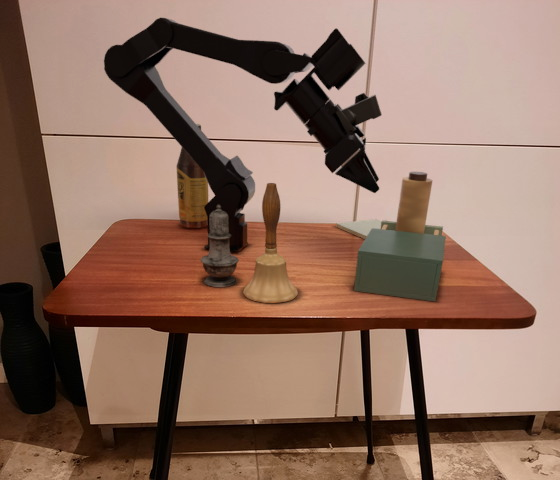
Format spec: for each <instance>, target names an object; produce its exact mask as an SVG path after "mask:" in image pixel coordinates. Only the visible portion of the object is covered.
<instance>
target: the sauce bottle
mask: <svg viewBox="0 0 560 480" xmlns="http://www.w3.org/2000/svg"><path fill="white" fill-rule="evenodd" d="M195 124H196V125H197V126H198V127H199V128H200V130H201V131H202V125H201V124H200V123H195ZM180 146H181V145H180ZM176 183H177V202H178V204H177V205H178V218H179V224H180V225H181V227H183V228H185V229H204V228H206V227H208V226H207V214H206V212H205V209H204V206H205V205H206V204H207V203H208V202H209V184H208V181H207V179H206V177H205V174H204V172H203V171H202V169H201V168H200V167H199V166H198V165H197V163H196V162H195V161H194V160H193V159H192V158H191V157H190V156H189V154H188V153H187V152H186V151H185V150H184V149H183V148H182V146H181V149H180V152H179V156H178V159H177V164H176Z"/></svg>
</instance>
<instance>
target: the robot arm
mask: <svg viewBox="0 0 560 480" xmlns="http://www.w3.org/2000/svg"><path fill="white" fill-rule="evenodd" d="M174 49H175V50H178V51H181V52H186V53H189V54H193V55H196V56H200V57H204V58H208V59H211V60H214V61H218V62H222V63H226V64H229V65H234V66H235V67H238V68H240V69H241V70H243V71H245V72H247V73H248V74H251V76H254V77H256V78H257V79H260V80H262V81H264V82H266V83H269V84H272V85H273V84H274V85H275V84H276V85H277V84H284V83H287V82H288V81H290V80H291V79H292V78H293V77H294V75H295V74H298V73H303V72H308V71H309V70H310V71H309V72H308V73H307V74H306V75H305V76H304V78H302V79H301V80H300V81H299V80H298V79H296V78H294V79H292V81H290V83H289V84H288V85H286V87H285V88H284V89H283V90H282V91H278V90H277V91H274V92H273V96H274V107H273V109H274V111H277V112H278V111H280V110H282V109H283V108H284V106H285V105H287V106H288V108H289V109H290V110H291V111H292V112H293V114H294V115H295V116H296V117H297V119H298V120H299V121H300V122H301V123H302V124H303V125H304V127H305V128H306V130H307V131H306V132H307V133H308V135H310V137H313V138H314V139H315V140H316V141H317V143H318V144H319V145H320V146H321V148H322V149H323V153H324V154H325V155H324V165H325V166H326V168H327V169H328V170H329V171H330V173H331V174H333V173H334V175H336V176H339V177H341V178H342V179H345V180H347V181H349V182H351V183H353V184H355V185H357V186H359V187H361V188H363V189H365V190H367V191H369V192H371V193H373V194H376V193H377V192H379V190H380V185H379V184H378V182H379V180H380V178H379V175H378V174H377V172H376V170H375V168H374V166H373V164H372V162H371V160H370V158H369V156H368V154H367V152H366V142H367V137H366V136H365V134H366V133H365V132H364V131H363V130H362V128H361V127H360V126H359V125H360V124H363V123H365V122H367V121H370V120H375V119H377V118H379V117H381V116H382V111H381V108H380V104H379V101H378V98H377V95H376V94H373V95H370V96H368V95H367V94H366V93H365V92H361V93H360V94H358V95H356V96H355V97H354V103H352V104H351V105H349V106H347V107H344V108H342V107H341V105H340V104H339V103H334V102H333V100H332V99H331V98H330V97H329V96H328V94H327V93H326V91H325V90H324V89H323V87H321V85H320V83H318V81H316V79H315V78H314V77H313V76H314V75H315V76H316V77H317V78H318V80H319V81H320V82H321V83H322V85H323V86H324V87H325V88H326V89H327V90H328V91H331V90H332V88H335V89H336V90H337V91H340V90H341V89H342V88H343V87H344V86H345V85H346V84H347V83H348V82H349V81H350V80H351V79H352V78H353V77H354V76H355V75H356V74H357V73H358V72H359V71H360V70H361V69H362V68H363V67H364V66H365V65H366V62H365V60H364V59H363V58H362V56H361V55H360V54H359V52H358V50H356V48H355V47H354V46H353V45H352V43H349V42H348V40H347V39H346V38H345V36H344V35H343V34H342V33H341V31H340V30H339V29H338V28H334V29H333V30H332V31H331V32H330V33H329V35H328V37H327V38H326V40H325V41H324V42H323V43H322V44H321V45H320V46H319V47H318V48H317V49H316V51H314V52H313V53H312V55H309V53H306V52H304V53H303V54H300V53H299V54H298V53H296V52H295V51H294V50H293V48H292V47H291V46H290V45H288V44H286V43H283V42H281V41H273V40H253V39H252V40H251V39H238V38H233V37H230V36H228V35H226V36H225V35H223V34H219V33H216V32H211V31H209V30H205V29H201V28H198V27H197V28H196V27H193V26H190V25H185V24H182V23H179V22H177V21H175V20H173V19H170V18H166V17H159V18H156V19H155V20H154V21H153V22H152V23H150V25H148V26H147V27H146V28H145V29H143V30H140V31H139V32H138V33H137V34H134V35H133V36H131V37H130V38H128V39H127V40H126V41H125V42H123V43H122V44H114V45H111V46H110V47H109V48H108V49H107V50H106V51H105V54H104V59H103V64H104V68H103V70H104V73H105V74H106V76H107V77H108V79H109V80H110V81H111V82H112V83H114V84H115V85H116V86H117V87H119V88H120V89H121V90H122V91H123V92H125V94H127V95H129V96H130V97H132V98H133V99H135V100H137V101H138V102H140V103H141V104H143V105H144V106H145V107H146V108H147V109H148V110H149V111H150V112H151V114H152V115H153V116H154V117H155V118H156V119H157V121H159V123H160V124H161V125H162V126H163V128H164V129H165V130H166V131H167V132H168V133H169V135H170V136H172V138H173V139H174V140H175V141H176V142H177V144H179V145H180V146H182V147H181V148H183V149H184V150H185V151H186V152H187V153H188V154H189V156H190V157H191V158H192V159H193V160H194V161H195V162H196V163H197V165H198V166H199V167H200V168H201V169H202V171H203V172H204V174H205V177H206V179H207V181H208V187H209V189H210V190H211V192H212V193H213V194H214V196H213V197H212V198H211V199H210V200H208V203H207V204H206V205H205V206H204V209H205V212H206V214H207V226H206V227H207V235H208V234H209V233H210V225H209V216H210V214H211V212H213V211H215V210H217V205H218V204H219V205H220V207H221V208H220V209H221V210H222V211H224V212H226V213H227V214H228V218H229V234H231V237H230V238H229V249H230V253H233V254H237V253H239V252H240V251H241V250H243V249H244V248H245V247H247V246H248V244H249V243H248V223H247V222H246V214H245V213H243V212H241V211H243V210H244V208H245V206H246V205H247V204H248V203H249V202H250V201H252V198H253V197H254V196H255V193H256V182H255V179H254V178H253V176H252V175H253V173H254V172H253V171H252V170H250V169H249V168H248V167H246V165H245V164H244V163H243V161H242V159H241V158H240V157H239V155H235V156H234V157H232V158H229V157H227V156H225V155H224V154H222V153H221V152H220V150H219V149H218V148H217V147H216V146H215V145H214V143H213V142H212V141H211V140H210V138H209V137H208V136H207V135H206V134H205V133H204V132H203V131H202V129H201V130H200V128H199V127H198V126H197V125H196V124H197V123H196V122H195V121H194V120H193V119H192V118H191V117H190V116H189V114H188V113H187V112H186V111H185V110H184V109H183V107H182V106H181V104H179V102H178V101H177V100H176V99H175V98H174V97H173V96H172V95H171V93H170V92H169V91H168V90H167V89H166V87H165V85H164V82H163V80H162V78H161V76H160V73H159V71H158V69H157V68H156V67H157V65H159V64H160V63H161V62H162V60H164V59H165V57H166V56H167V55H168V54H169V53H170V52H171V51H172V50H174ZM312 67H313V68H312ZM311 68H312V69H311ZM361 138H362V139H361ZM203 249H204V250H208V251H209V249H210V242H209V237H208V236H207V244H206V245H204V248H203Z"/></svg>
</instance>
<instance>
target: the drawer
mask: <svg viewBox="0 0 560 480" xmlns="http://www.w3.org/2000/svg"><path fill="white" fill-rule="evenodd" d="M381 221H382V222H381V229H384V230H393V231H395V229H396V222H397V221H391V220H381ZM443 231H444V226H443V225H442V226H441V225H433V224H432V225H431V224H425V230H424V234H431V235H441V236H443Z"/></svg>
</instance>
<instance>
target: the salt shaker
mask: <svg viewBox="0 0 560 480" xmlns="http://www.w3.org/2000/svg"><path fill="white" fill-rule="evenodd" d="M220 208H221V207H220V205H219V204H218V205H217V210H215V211H213V212H211V214H210V216H209V225H210V233H209V234H208V233H207V234H206V236H207V238H208V237H209V242H210V249H209V250H208V254H207V255H204V256H202V257H201V259H200V262H201V263H202V267H203V270H204V272H205V273H207V274H208V275H207V276H206V277H205V278H203V280H202V281H203V284H204V285H206V286H209V287H213V288H228V287H232V286H235V285H237V283H238V280H237V278H235V277H234V276H232V275H233V274H234V273H235V271H236V269H237V266H238V263H239V257H237V256H236V255H233V254H231V253H232V252H230V249H229V238H230V237H231V234H229V218H228V214H227V213H226V212H224V211H222V210H221V209H220Z"/></svg>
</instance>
